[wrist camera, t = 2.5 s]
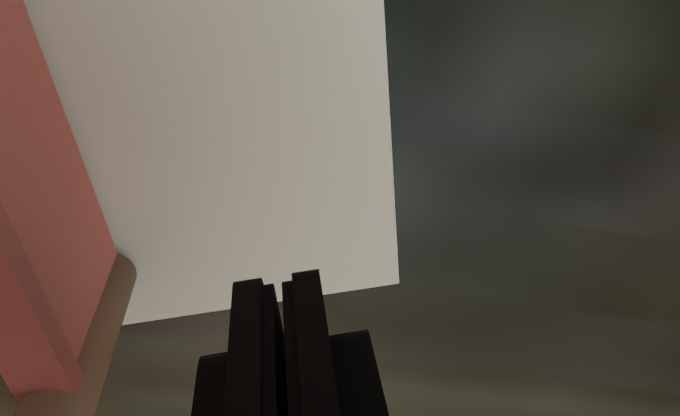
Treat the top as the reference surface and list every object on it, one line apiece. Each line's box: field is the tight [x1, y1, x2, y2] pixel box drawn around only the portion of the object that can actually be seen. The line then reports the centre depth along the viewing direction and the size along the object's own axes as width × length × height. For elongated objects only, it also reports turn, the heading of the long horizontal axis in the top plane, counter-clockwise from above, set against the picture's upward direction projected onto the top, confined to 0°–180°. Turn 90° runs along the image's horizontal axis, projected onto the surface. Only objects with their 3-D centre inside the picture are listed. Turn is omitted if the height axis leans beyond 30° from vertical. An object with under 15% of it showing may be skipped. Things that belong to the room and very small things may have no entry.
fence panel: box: [0, 0, 137, 416], centre depth 14 cm, size 11×2×7 cm, turn 6°
